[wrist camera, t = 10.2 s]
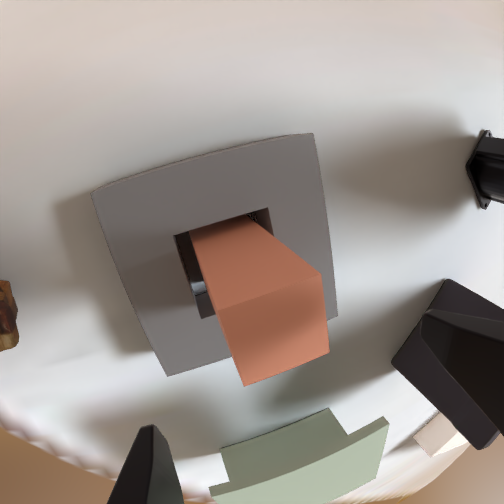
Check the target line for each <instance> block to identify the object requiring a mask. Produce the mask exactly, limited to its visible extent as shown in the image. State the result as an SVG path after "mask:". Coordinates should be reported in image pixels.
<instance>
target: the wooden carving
mask: <svg viewBox="0 0 504 504" xmlns="http://www.w3.org/2000/svg"><path fill="white" fill-rule="evenodd" d="M17 312H18V309H17V306H16V303H15V299H14V297H13V296H12V292H11V287H10V283H9V281H1V280H0V352H1V351H3V350H7V349H11V348H13V347H15V346H16V345H17V343H18V342H19V333H18V329H17V325H16V318H17Z"/></svg>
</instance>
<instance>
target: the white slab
mask: <svg viewBox="0 0 504 504" xmlns="http://www.w3.org/2000/svg"><path fill="white" fill-rule="evenodd" d="M413 438H414V439H415V440H416V441H417V443H418V444H419V445H420V446H421V447H422V448H423V449H424V450H425V452H426V453H427V454H428V455H429V456H430V457H433V456H435V455H438V454H441V453H443V452H446V451H448V450H450V449H453V448H455V447H458V446H460V445H462V444H464V443H467V442H469V441H468V440H467V439H466V438H465V437H464V436H463V435H462V434H461V433H460V432H459V431H458V430H457V429H456V428H455V427H454V426H453V425H452V423H451V422H450V421H449V420H448V419H447V418H446V417H445V416H444V415H443V414H442V413H441V412H440V413H439V414H438V415H437V416H436V417H435V418H433V419H432V420H431V421H430V422H429V423H428V424H427V425H426V426H425V427H423V428H422V429H421V430H420V431H419V432H418V433H416V434H415V435H414V436H413Z"/></svg>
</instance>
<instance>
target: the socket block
mask: <svg viewBox="0 0 504 504" xmlns="http://www.w3.org/2000/svg"><path fill="white" fill-rule="evenodd" d="M91 197H92V200H93V203H94V206H95V209H96V212H97V215H98V218H99V221H100V224H101V227H102V230H103V233H104V236H105V239H106V241H107V244H108V247H109V250H110V252H111V255H112V257H113V260H114V263H115V265H116V268H117V270H118V273H119V275H120V278H121V280H122V283H123V285H124V287H125V290H126V292H127V294H128V297H129V299H130V301H131V304H132V306H133V308H134V310H135V313H136V315H137V317H138V319H139V321H140V323H141V326H142V328H143V330H144V332H145V334H146V336H147V338H148V340H149V342H150V344H151V346H152V348H153V350H154V352H155V354H156V356H157V358H158V360H159V362H160V364H161V366H162V368H163V370H164V371H165V373H166V375H167V377H168V376H172V375H175V374H179V373H182V372H185V371H189V370H192V369H195V368H198V367H202V366H205V365H208V364H211V363H214V362H217V361H220V360H223V359H226V358H229V357H232V355H231V353H230V350H229V347H228V345H227V342H226V340H225V337H224V334H223V332H222V329H221V326H220V324H219V321H218V318H217V316H216V313H215V310H214V308H213V305H212V302H211V299H210V297H209V294H208V292H206V293H203V294H200V295H197V296H195V295H194V292H193V289H192V287H191V284H190V281H189V278H188V275H187V272H186V269H185V266H184V263H183V260H182V256H181V253H180V250H179V247H178V244H177V241H176V238H175V235H177V234H180V233H183V232H186V231H189V230H193V229H196V228H199V227H202V226H206V225H209V224H212V223H216V222H219V221H222V220H226V219H229V218H232V217H236V216H239V215H243V214H246V213H250V212H253V211H255V214H256V218H257V223H258V225H260V226H261V227H262V228H264V229H265V230H266V231H267V232H269V233H270V234H271V235H273V236H274V237H275V238H276V239H278V240H279V241H280V242H282V243H283V244H284V245H285V246H287V247H288V248H289V249H290V250H292V251H293V252H294V253H295V254H297V255H298V256H299V257H301V258H302V259H303V260H304V261H306V262H307V263H308V264H309V265H311V266H312V267H313V268H314V269H316V270H317V271H318V272H319V273H321V277H322V285H323V293H324V301H325V310H326V319H327V320H330V319H332V318H334V317H337V316H338V313H337V301H336V289H335V279H334V269H333V260H332V251H331V243H330V235H329V227H328V220H327V213H326V206H325V199H324V192H323V186H322V180H321V174H320V168H319V162H318V156H317V151H316V145H315V140H314V135H313V133H307V134H293V135H287V136H282V137H276V138H272V139H267V140H262V141H257V142H253V143H248V144H244V145H239V146H235V147H231V148H227V149H223V150H219V151H215V152H211V153H207V154H203V155H199V156H196V157H192V158H188V159H185V160H181V161H178V162H174V163H171V164H168V165H164V166H161V167H158V168H154V169H151V170H148V171H145V172H142V173H139V174H136V175H133V176H130V177H127V178H124V179H121V180H118V181H115V182H112V183H109V184H107V185H104V186H101V187H100V188H98V189H96V190H95V191H93V192H92V193H91Z"/></svg>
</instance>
